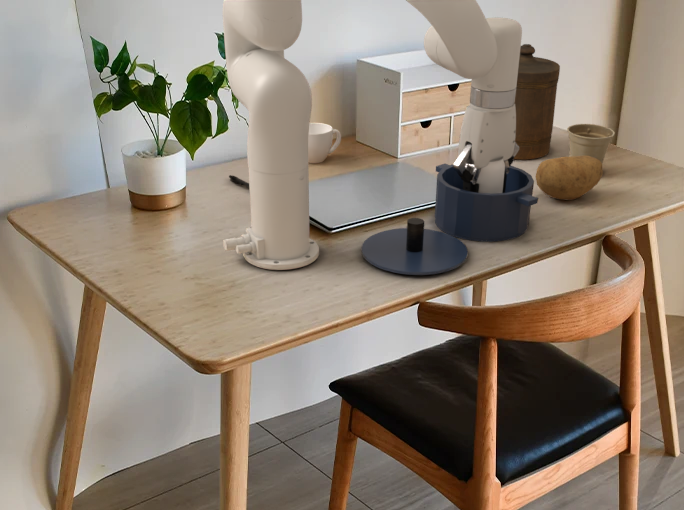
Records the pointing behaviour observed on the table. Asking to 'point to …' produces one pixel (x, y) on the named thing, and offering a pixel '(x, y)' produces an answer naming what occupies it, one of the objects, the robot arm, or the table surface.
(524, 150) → the wooden container
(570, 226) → the table surface
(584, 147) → the flower pot
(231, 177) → the pen
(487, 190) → the can
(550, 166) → the potato
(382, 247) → the lid
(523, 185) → the pot
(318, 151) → the cup
